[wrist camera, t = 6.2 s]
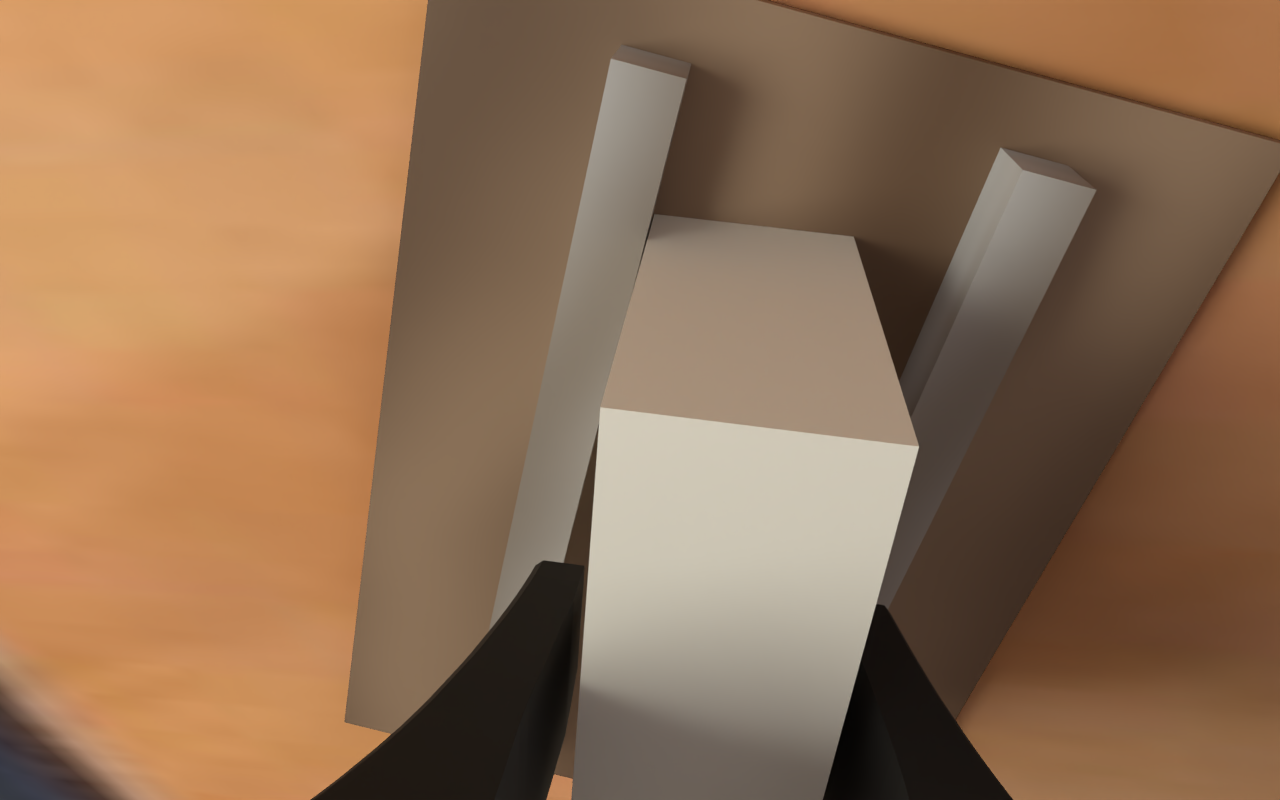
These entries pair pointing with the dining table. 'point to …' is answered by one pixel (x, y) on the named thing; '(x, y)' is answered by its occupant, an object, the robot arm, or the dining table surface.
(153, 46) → the dining table surface
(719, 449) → the cream rectangular block
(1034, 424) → the track board
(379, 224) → the dining table surface
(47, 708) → the dining table surface
